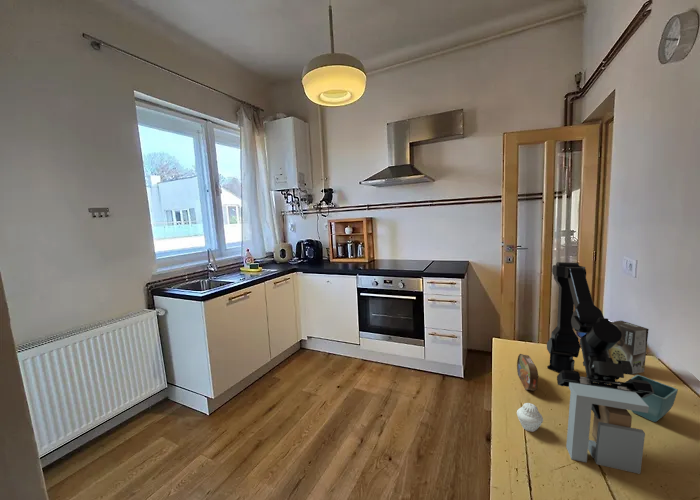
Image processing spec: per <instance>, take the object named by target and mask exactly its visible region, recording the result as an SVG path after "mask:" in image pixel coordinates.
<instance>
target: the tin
mask: <svg viewBox="0 0 700 500" xmlns="http://www.w3.org/2000/svg"><path fill="white" fill-rule="evenodd" d="M516 362H517V363H516V369H517V372H516V373H517V376H518V378H519V380H520V382H521V384H522V386H523V387H524V389H525V390H526V391H533V392H534V391H536V390H537V388H538V381H539V372H538V368H537V365H536V364H535V363H534V361H533V360H532V358H531V356H530V355H527V354H524V353H519V354H518V357H517V361H516Z"/></svg>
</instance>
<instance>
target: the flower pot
mask: <svg viewBox="0 0 700 500" xmlns="http://www.w3.org/2000/svg"><path fill="white" fill-rule="evenodd" d="M630 379H635V380H642V381H648V382H649V383H650V384H651V385H652V387H653V390H654V394H652V395H650V396H648V397H646V398H641V399H642V400H643V401H644V402H645V403H646V404H647V405H648V406H649V410H648V413H645V412H639V411H633V410H630V411H631V412H632V413H634V414H635V415H638V416H640V417H642V418H645V419H646V420H649V421H651V422H653V423H656V422H658V421H659V420H661V419H662V418H663V417H664V416H665V415H666V414H668V413H669V412H670V410H671V409H672V408H673V406H674V403H675V401H676V396H677V394H678V390H679V389H677V388H675V387H673V386H671V385H667V384H664V383H661V382H659V381H656V380H654V379H651V378H648V377H646V376H643V375H640V374H635V375H634V376H633V377H631V378H630ZM625 382H626V381H624V383H625Z"/></svg>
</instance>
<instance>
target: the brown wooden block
mask: <svg viewBox="0 0 700 500" xmlns="http://www.w3.org/2000/svg"><path fill="white" fill-rule="evenodd" d="M598 408H599V411H600V419H597V417H596V416H595V414H594V413H593V419H592V421H593V422H592V430H591V431H592V433H591V436H592V438H593V441H595V442H596V441H597V430H598V422H603V423H608V424H614V425H619V426H625V427H630V428H632V427H631V426H632V419H633V416H632V414H631V413H630V412H629V410H627V409H621V408H615V407H609V406H603V405H598Z"/></svg>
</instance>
